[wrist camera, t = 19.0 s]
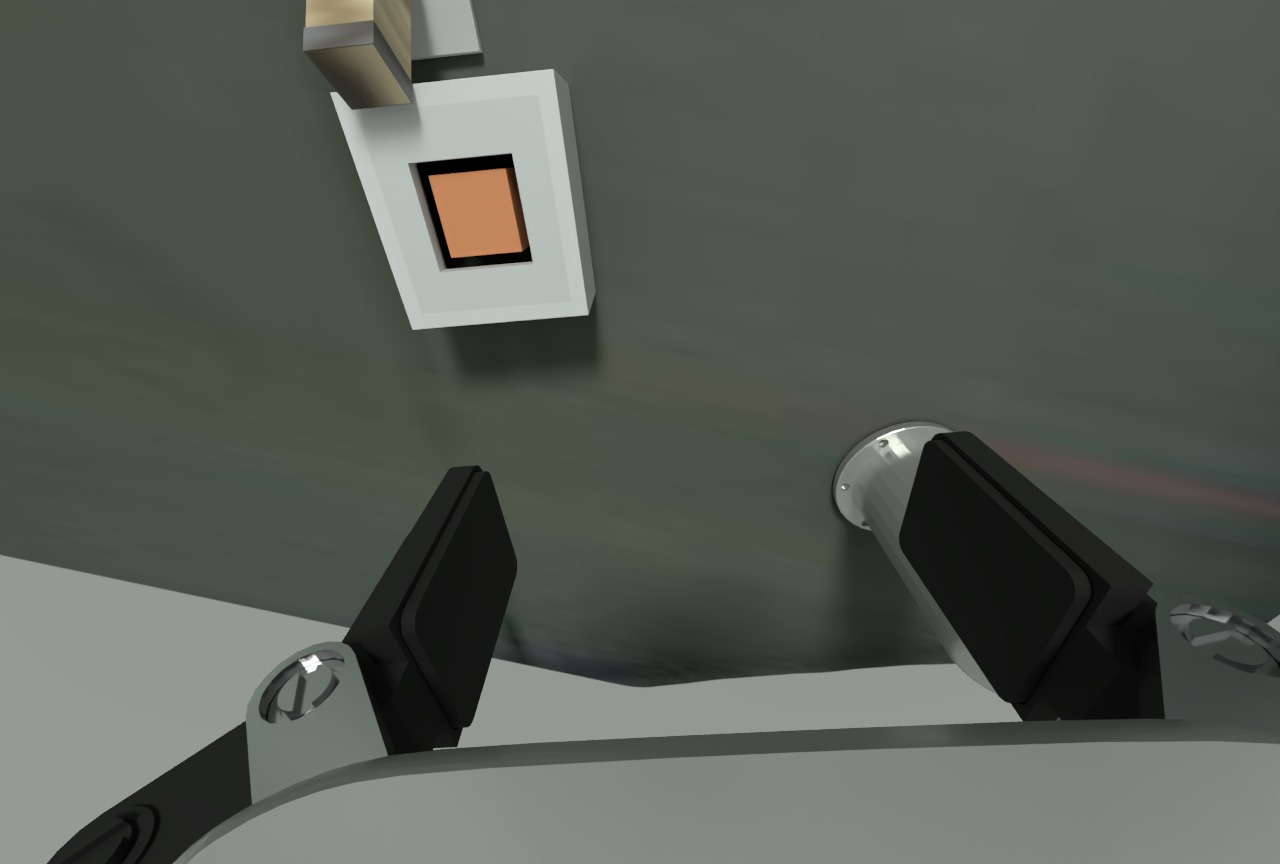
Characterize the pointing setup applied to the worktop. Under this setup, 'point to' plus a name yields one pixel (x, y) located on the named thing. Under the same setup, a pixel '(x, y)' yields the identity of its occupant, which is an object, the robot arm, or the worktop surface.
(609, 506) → the worktop surface
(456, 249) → the orange cube block
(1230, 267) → the worktop surface
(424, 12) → the pad
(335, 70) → the tan wooden block
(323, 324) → the worktop surface
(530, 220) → the box
